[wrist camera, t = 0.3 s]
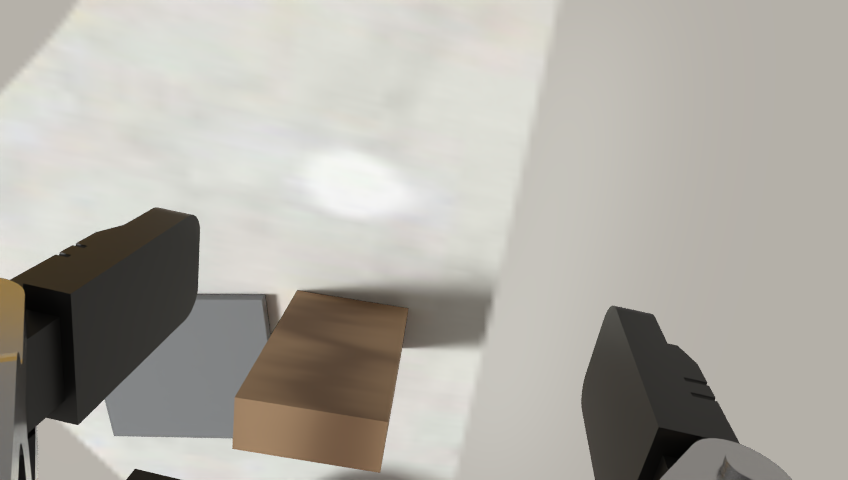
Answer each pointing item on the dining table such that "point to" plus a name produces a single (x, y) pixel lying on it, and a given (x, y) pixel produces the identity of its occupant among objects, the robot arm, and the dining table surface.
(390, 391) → the walnut slab
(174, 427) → the rubber mat
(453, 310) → the dining table surface
